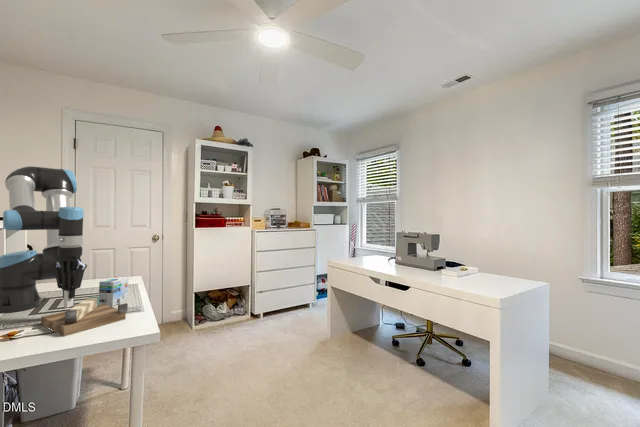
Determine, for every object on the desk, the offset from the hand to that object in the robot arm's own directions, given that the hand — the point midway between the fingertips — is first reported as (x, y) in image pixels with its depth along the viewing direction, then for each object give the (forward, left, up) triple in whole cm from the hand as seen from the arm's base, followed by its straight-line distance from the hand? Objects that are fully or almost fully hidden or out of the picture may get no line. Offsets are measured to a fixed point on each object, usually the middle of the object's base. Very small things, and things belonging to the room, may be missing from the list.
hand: (68, 306), depth 120 cm
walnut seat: (+9, +2, -5) cm, 11 cm away
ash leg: (+9, +1, -1) cm, 9 cm away
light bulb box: (-7, +20, -5) cm, 22 cm away
